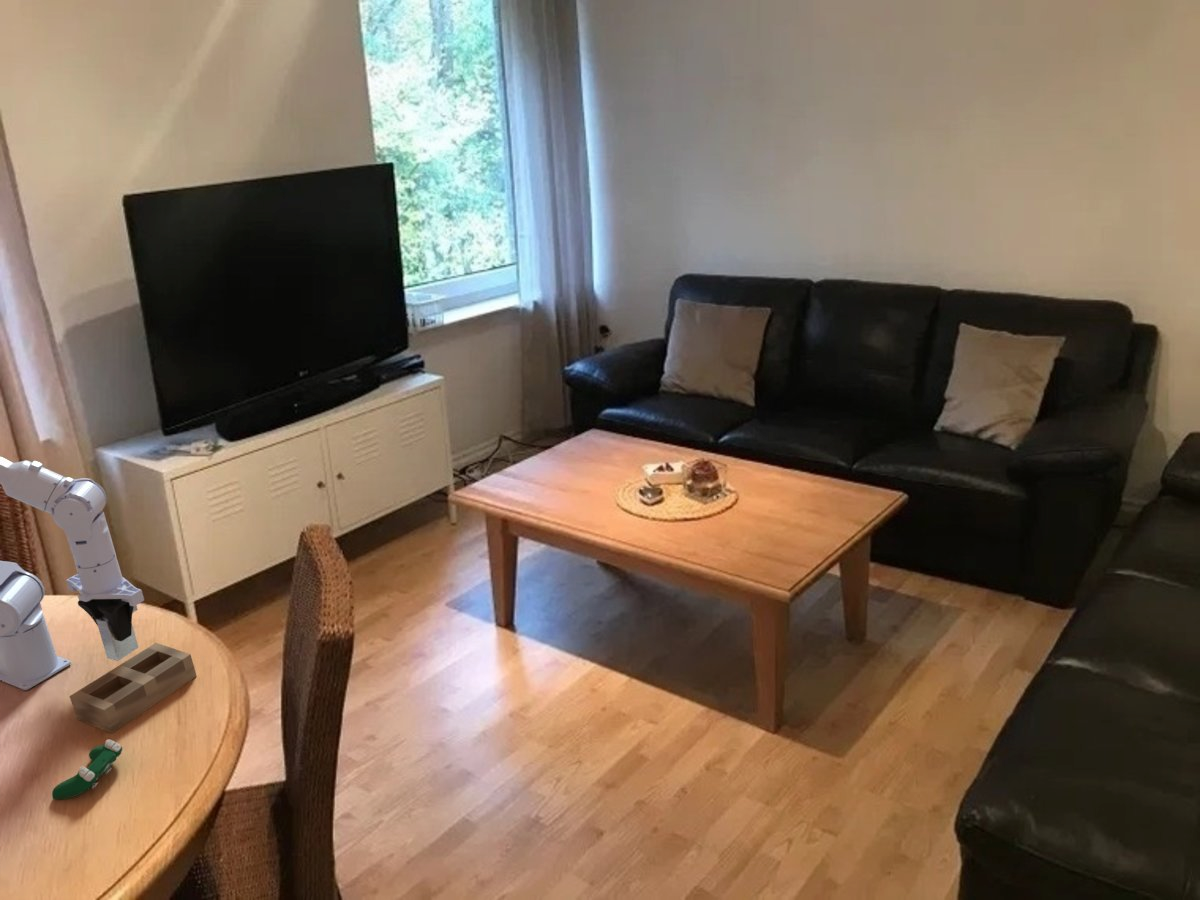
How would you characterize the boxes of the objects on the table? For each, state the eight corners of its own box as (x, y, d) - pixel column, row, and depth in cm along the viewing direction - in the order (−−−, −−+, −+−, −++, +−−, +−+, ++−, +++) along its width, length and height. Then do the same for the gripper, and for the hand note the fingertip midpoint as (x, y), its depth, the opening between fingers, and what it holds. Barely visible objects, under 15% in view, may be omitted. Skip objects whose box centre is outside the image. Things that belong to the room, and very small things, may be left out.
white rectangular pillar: (107, 658, 165) (95, 619, 162) (136, 639, 169) (125, 601, 167) (117, 661, 164) (106, 622, 161) (146, 642, 168) (136, 604, 166)
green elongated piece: (70, 814, 137) (90, 790, 135) (46, 796, 137) (66, 772, 134) (113, 767, 146) (133, 744, 143) (91, 750, 145) (110, 727, 143)
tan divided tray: (76, 719, 153) (69, 696, 152) (162, 664, 165) (156, 642, 164) (111, 733, 150) (104, 710, 148) (196, 676, 161) (190, 654, 160)
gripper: (40, 564, 159) (65, 640, 165) (106, 579, 153) (129, 658, 158) (80, 543, 165) (102, 617, 170) (145, 557, 159) (166, 634, 164)
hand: (118, 636), depth 165 cm, fingers closed on white rectangular pillar, 2 cm apart
